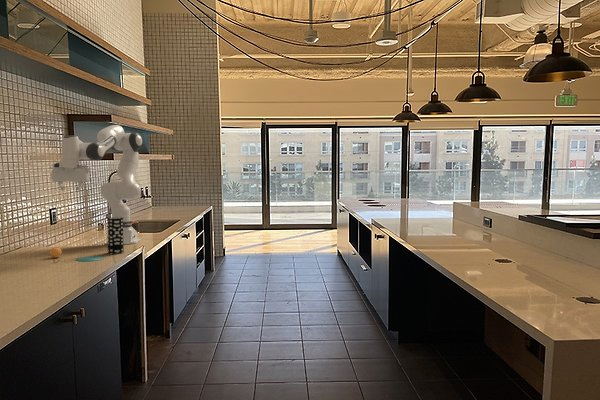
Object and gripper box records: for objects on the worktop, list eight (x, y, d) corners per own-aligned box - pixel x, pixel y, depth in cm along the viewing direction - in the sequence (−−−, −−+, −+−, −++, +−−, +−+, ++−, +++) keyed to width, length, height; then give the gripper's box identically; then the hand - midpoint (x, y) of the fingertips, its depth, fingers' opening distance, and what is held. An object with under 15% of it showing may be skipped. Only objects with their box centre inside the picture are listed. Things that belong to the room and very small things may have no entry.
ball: (54, 256, 240) (54, 246, 240) (63, 256, 240) (63, 246, 240) (47, 258, 235) (47, 248, 235) (57, 258, 235) (57, 248, 234)
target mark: (85, 256, 243) (85, 255, 243) (107, 256, 242) (107, 256, 242) (70, 261, 230) (70, 260, 230) (94, 261, 229) (94, 261, 229)
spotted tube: (117, 254, 248) (117, 219, 247) (104, 253, 250) (104, 218, 248) (126, 251, 256) (126, 217, 255) (113, 251, 258) (113, 216, 257)
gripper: (91, 165, 246) (91, 190, 246) (56, 164, 248) (56, 189, 248) (85, 165, 240) (85, 190, 240) (49, 164, 241) (49, 189, 242)
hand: (70, 190), depth 244 cm, fingers open, 8 cm apart
